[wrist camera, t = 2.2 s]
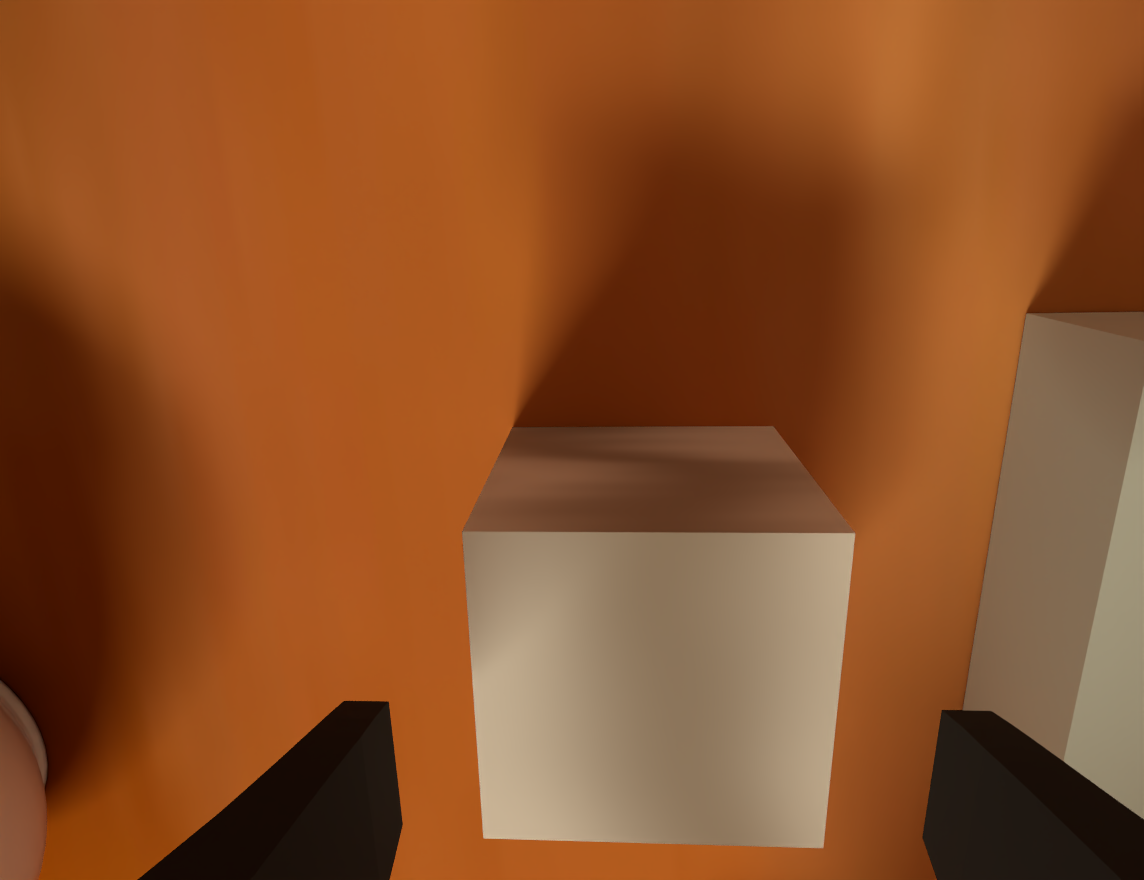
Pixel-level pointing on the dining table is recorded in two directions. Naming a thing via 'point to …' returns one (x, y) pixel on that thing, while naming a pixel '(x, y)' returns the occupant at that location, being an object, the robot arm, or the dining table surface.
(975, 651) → the sage pedestal
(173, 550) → the dining table surface
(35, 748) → the lidded jar
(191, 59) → the dining table surface
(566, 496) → the cream cube
